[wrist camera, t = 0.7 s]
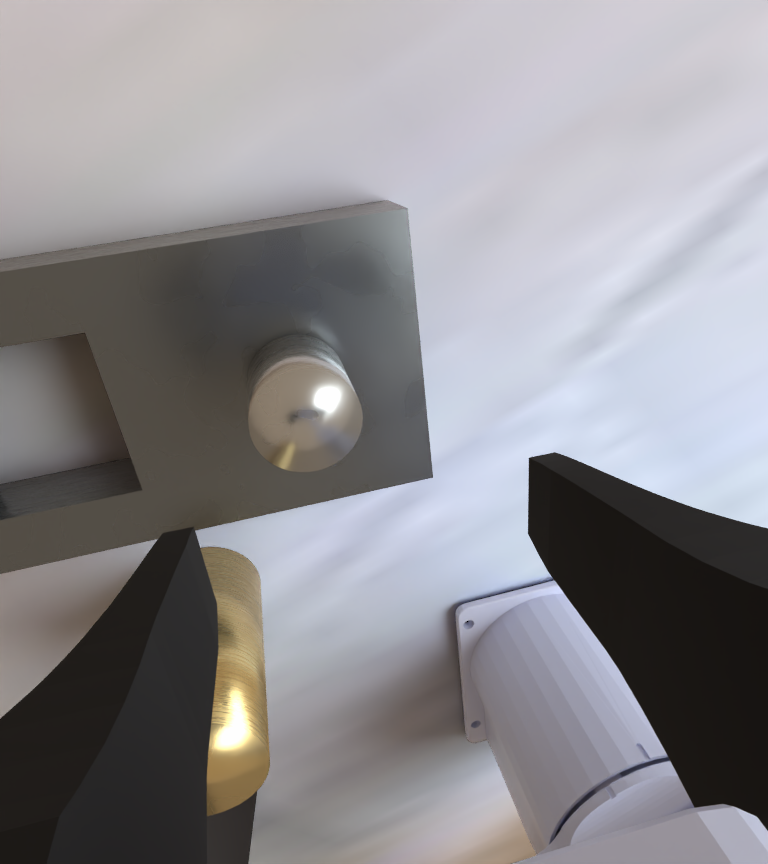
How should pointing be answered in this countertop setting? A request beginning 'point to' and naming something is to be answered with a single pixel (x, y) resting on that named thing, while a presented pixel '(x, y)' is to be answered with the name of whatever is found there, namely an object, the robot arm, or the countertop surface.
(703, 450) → the countertop surface
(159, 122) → the countertop surface
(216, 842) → the phone stand
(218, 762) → the cylinder
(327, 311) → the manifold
